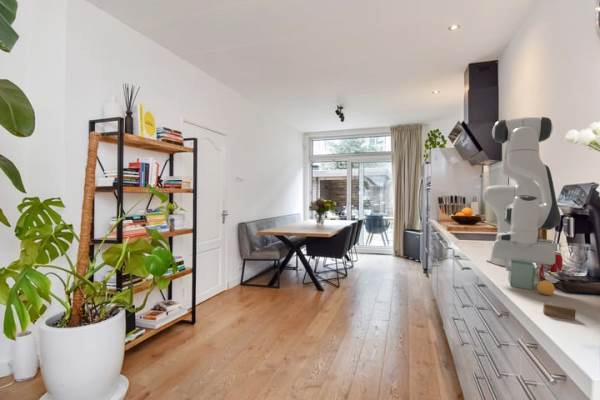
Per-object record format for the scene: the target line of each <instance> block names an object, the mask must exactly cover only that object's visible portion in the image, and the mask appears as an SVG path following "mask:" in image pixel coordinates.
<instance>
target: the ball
mask: <svg viewBox="0 0 600 400" xmlns="http://www.w3.org/2000/svg"><path fill="white" fill-rule="evenodd" d="M536 289H537V290H538V292H539V293H540V294H542V295H544V296H549V295H552V294H553V293H555V289H556V288H555V285H554V283H551V282H549V281H546V280H543V281H542V280H541V281H540V280H539V281H538V282H537V284H536Z"/></svg>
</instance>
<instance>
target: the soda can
mask: <svg viewBox="0 0 600 400" xmlns="http://www.w3.org/2000/svg"><path fill="white" fill-rule="evenodd" d="M563 261H564V258H563V257H562V253H561V252H557V251H555V264H553V265H548V264H541V267H540V268H539V271H538V272H539V274H538V275H539V276H538V277H539V279H540V280H541V281H542V280H546V279H545V276H544V271H551V272H559V271H561V269H562V270H563Z"/></svg>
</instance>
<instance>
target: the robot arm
mask: <svg viewBox="0 0 600 400" xmlns="http://www.w3.org/2000/svg"><path fill="white" fill-rule="evenodd" d="M492 127H493V128H492V131H491V136H492V138H493V141H494V142H495V143H498V144H504V148H503V152H502V153H503V154H502V164H501V165H502V167H501V172H502V175H504V176H505V177H506V178H509V179H511V180H514V181H515V183H516V184H515V185H512V184H511V185H508V184H496V185H490V186H487V187H486V188H485V189H484V191H483V192H482V199H483V202H484V203H485V205H487V206H488V207H489V208H490V209H491V210H492V211H493V212H494V213H495V214H494V215H495V216H496V221H497V233H496V235H495V241H493V245H491V253H490V257H489V258H486V262H488V263H493V264H494V265H497V266H502V267H505V271H507V272H509V271H510V269H511V267H510V266H509V261H510V260H516V261H524V262H532V263H533V264H535V265H536V266H535V271H534V276H537V275H538V271H540V267H541V264H548V265H553V264H555V252H557V249H558V244H557V242H556V241H553V240H552V239H546V238H545V239H544V238H539V236H538V235H539V229H541V230H546V231H551V230H553V229H556V227H558V226H559V225H560V224H561V218H562V217H561V212H560V209H559V205H558V201H557V196H556V191H555V186H554V181H553V176H552V172H551V169H550V167H549V166H548V165H546V164H544V162H543V161H542V159H541V157H540V143H542V142H545V141H546V140H548V139H549V138H550V137H551V136H552V133H553V127H554V126H553V123H552V119H551V118H549V117H544V116H539V117H532V116H528V117H527V116H526V117H523V116H522V117H518V118H509V119H501V120H498V121H496V122H495V123H494V125H493V126H492Z"/></svg>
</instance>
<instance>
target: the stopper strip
mask: <svg viewBox="0 0 600 400" xmlns="http://www.w3.org/2000/svg"><path fill="white" fill-rule="evenodd" d="M542 309H543V310H542V312H543V315H545V316H551V317H557V318H560V319H566V320H573V321H576V313H577V312H576V311H577V309H576V308H575V307H572V306H567V305H561V304H557V303H550V302H549V303H548V302H543V308H542Z"/></svg>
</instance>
